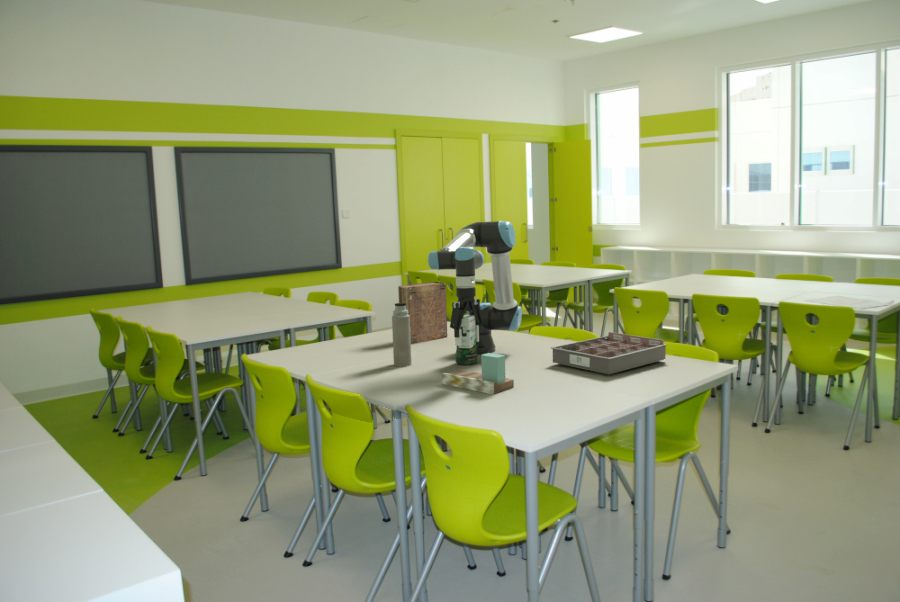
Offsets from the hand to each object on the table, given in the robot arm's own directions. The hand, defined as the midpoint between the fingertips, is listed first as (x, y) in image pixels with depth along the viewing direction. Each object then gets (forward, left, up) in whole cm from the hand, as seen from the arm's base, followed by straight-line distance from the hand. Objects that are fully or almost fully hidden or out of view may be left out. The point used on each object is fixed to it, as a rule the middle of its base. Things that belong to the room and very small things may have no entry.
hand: (467, 343), depth 260 cm
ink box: (0, 0, -1) cm, 1 cm away
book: (-81, +55, -16) cm, 99 cm away
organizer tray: (+27, +62, -17) cm, 70 cm away
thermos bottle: (-46, +7, -16) cm, 49 cm away
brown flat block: (+5, 0, -16) cm, 17 cm away
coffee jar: (-24, +26, -16) cm, 39 cm away
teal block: (+13, 0, -13) cm, 19 cm away
